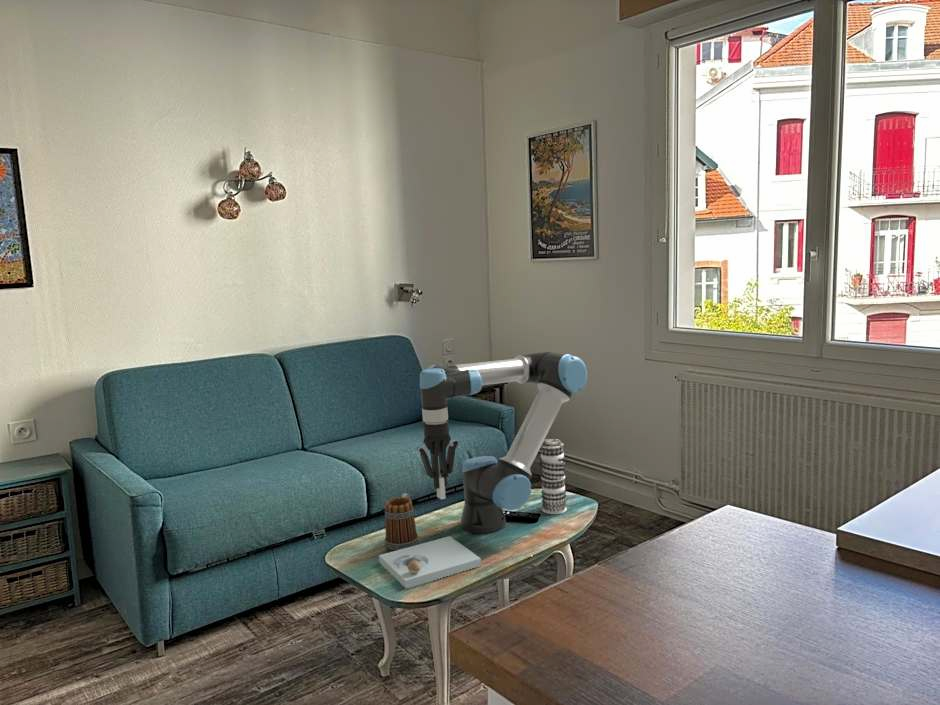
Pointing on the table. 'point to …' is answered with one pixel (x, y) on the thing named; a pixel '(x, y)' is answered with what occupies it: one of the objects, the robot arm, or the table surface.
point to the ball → (412, 560)
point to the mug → (400, 524)
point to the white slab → (429, 561)
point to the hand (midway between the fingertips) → (441, 497)
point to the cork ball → (414, 566)
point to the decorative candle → (553, 476)
